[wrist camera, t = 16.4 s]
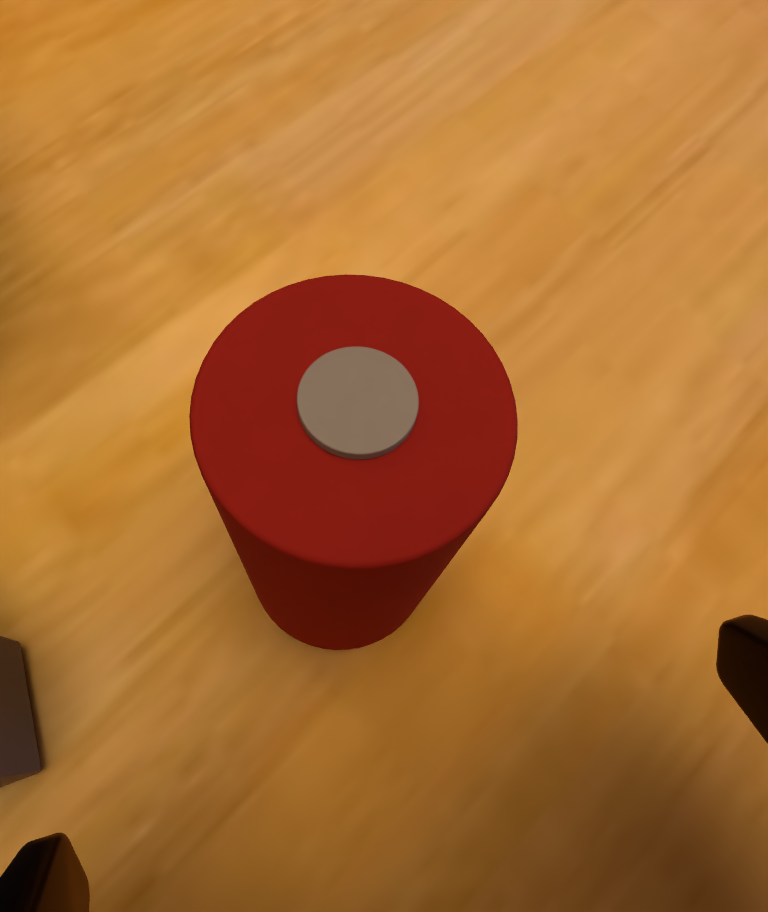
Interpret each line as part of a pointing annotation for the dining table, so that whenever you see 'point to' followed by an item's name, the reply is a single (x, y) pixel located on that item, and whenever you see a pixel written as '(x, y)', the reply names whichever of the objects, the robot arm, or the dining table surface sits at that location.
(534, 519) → the dining table surface
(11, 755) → the drawer
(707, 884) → the dining table surface
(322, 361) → the roller
